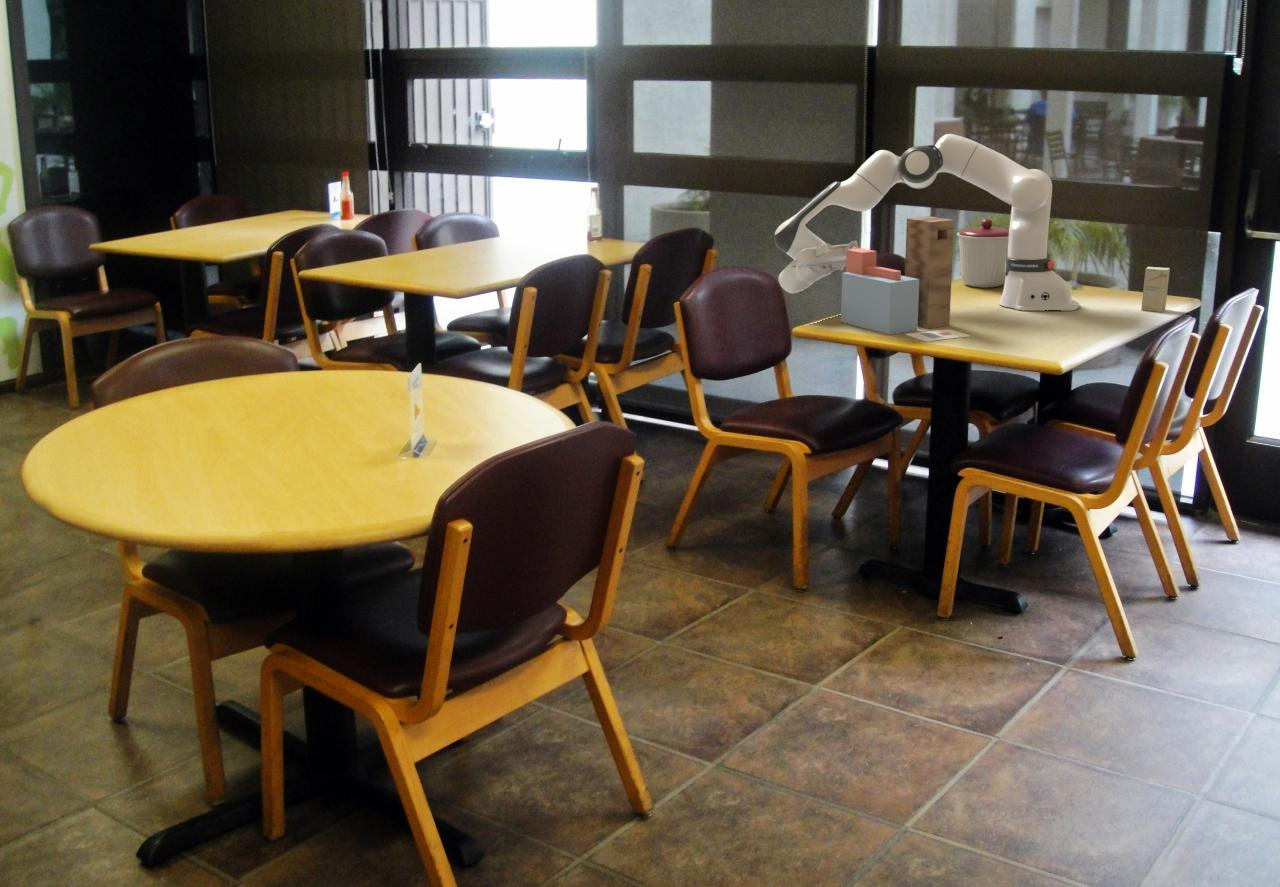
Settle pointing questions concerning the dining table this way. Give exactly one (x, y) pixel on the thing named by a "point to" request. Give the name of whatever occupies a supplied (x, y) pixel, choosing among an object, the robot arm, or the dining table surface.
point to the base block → (880, 302)
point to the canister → (983, 255)
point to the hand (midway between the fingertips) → (842, 244)
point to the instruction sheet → (937, 335)
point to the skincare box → (1155, 289)
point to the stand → (931, 267)
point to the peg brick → (868, 264)
